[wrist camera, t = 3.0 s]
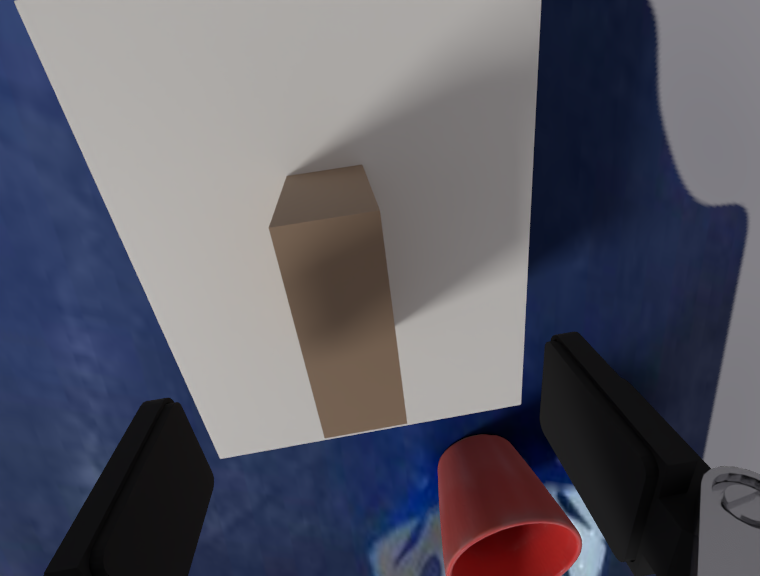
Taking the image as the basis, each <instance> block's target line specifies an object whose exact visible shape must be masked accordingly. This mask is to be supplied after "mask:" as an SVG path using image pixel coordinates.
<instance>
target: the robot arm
mask: <svg viewBox="0 0 760 576" xmlns="http://www.w3.org/2000/svg"><path fill="white" fill-rule="evenodd" d="M540 424H541V428H542V431H543V433H544V435H545V436H546V438H547V440H548V441H549V443H550V445H551V447H552V448H553V450H554V452H555V453H556V455H557V457H558V459H559V460H560V462H561V464H562V466H563V467H564V469H565V471H566V472H567V474H568V476H569V478H570V479H571V481H572V483H573V485H574V486H575V488H576V490H577V491H578V493H579V495H580V497H581V498H582V500H583V502H584V503H585V505H586V507H587V509H588V510H589V512H590V514H591V516H592V517H593V519H594V521H595V522H596V524H597V526H598V528H599V529H600V531H601V533H602V535H603V536H604V538H605V540H606V541H607V543H608V545H609V547H610V548H611V550H612V552H613V553H614V555H615V556H616V558H617V559H618V560H619V561H621V562H625V561H626V562H627V564H628V566H629V568H630V569H631V571H632V573H633V574H634V576H645V575H651V574H656V576H760V474H757V473H755V472H752V471H750V470H747V469H742V468H738V467H727V466H725V467H724V466H720V467H717V468H713V469H711V468H710V467H709V466H708V465H707V464H706V463H705V462H704V461H703V460H702V459H701V458H700V457H699V456H698V454H697V453H696V452H695V451H694V450H693V449H692V448H691V447H690V446H689V445H688V444H687V443H686V442H685V441H684V440H683V439H682V438H681V437H680V436H679V434H678V433H677V432H676V431H675V430H674V429H673V428H672V427H671V426H670V425H669V424H668V423H667V422H666V421H665V420H664V419H663V418H662V417H661V416H660V414H659V413H658V412H657V411H656V410H655V409H654V408H653V407H652V406H651V405H650V404H649V403H648V402H647V401H646V400H645V399H644V398H643V397H642V395H641V394H640V393H639V392H638V391H637V390H636V389H635V388H634V387H633V386H632V385H631V384H630V383H629V382H628V381H626V380H625V379H622V378H621V377H620V376H619V375H618V374H617V373H616V372H615V371H614V370H613V369H612V368H611V367H610V366H609V365H608V364H607V363H606V361H605V360H604V359H603V358H602V357H601V356H600V355H599V354H598V353H597V352H596V351H595V350H594V349H593V348H592V347H591V345H590V344H589V343H588V342H587V341H586V340H585V339H584V338H583V337H582V336H581V335H580V334H579V333H578V332H570V333H564V334H558V335H554V336H552V338H551V341H550V342H547V343H546V344H545V353H544V366H543V380H542V393H541V407H540ZM213 487H214V477H213V473H212V471H211V469H210V466H209V464H208V462H207V460H206V458H205V456H204V453H203V451H202V449H201V447H200V445H199V443H198V440H197V438H196V436H195V434H194V432H193V430H192V428H191V425H190V423H189V421H188V419H187V417H186V415H185V412H184V410H183V408H182V406H181V404H180V403H178V402H175V403H174V401H173V400H172V399H171V398H163V399H157V400H151V401H146V402H144V403H143V404H142V405H141V406H140V408H139V410H138V411H137V413H136V415H135V417H134V418H133V420H132V422H131V423H130V425H129V427H128V429H127V430H126V432H125V434H124V436H123V437H122V439H121V441H120V442H119V444H118V446H117V448H116V449H115V451H114V453H113V455H112V456H111V458H110V460H109V462H108V463H107V465H106V467H105V468H104V470H103V472H102V474H101V475H100V477H99V479H98V481H97V482H96V484H95V486H94V487H93V489H92V491H91V493H90V494H89V496H88V498H87V500H86V501H85V503H84V505H83V506H82V508H81V510H80V512H79V513H78V515H77V517H76V519H75V520H74V522H73V524H72V525H71V527H70V529H69V531H68V532H67V534H66V536H65V538H64V539H63V541H62V543H61V545H60V546H59V548H58V550H57V551H56V553H55V555H54V557H53V558H52V560H51V562H50V564H49V565H48V567H47V569H46V570H45V572H44V576H188V574H189V570H190V567H191V563H192V560H193V556H194V553H195V549H196V546H197V543H198V539H199V536H200V532H201V529H202V525H203V522H204V518H205V515H206V512H207V508H208V505H209V501H210V498H211V494H212V491H213Z"/></svg>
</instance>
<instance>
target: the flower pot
mask: <svg viewBox="0 0 760 576" xmlns="http://www.w3.org/2000/svg"><path fill="white" fill-rule="evenodd" d="M438 486H439V508H440V520H441V533H442V545H443V556H444V565H445V573H446V576H561V575H563V574H564V573H565V572H566V571H567V570H568V569H569V568H570V567H571V566H572V565H573V564H574V562H575V561H576V560H577V558H578V557H579V555H580V552H581V548H582V539H581V536H580V534H579V532H578V531H577V529H576V528H575V526H574V525H573V523H572V522H571V521H570V519H569V518H568V517H567V515H566V514H565V513H564V511H563V510H562V509H561V507H560V506H559V505H558V504H557V502H556V501H555V500H554V498H553V497H552V496H551V494H550V493H549V492H548V490H547V489H546V488H545V486H544V485H543V484H542V482H541V481H540V480H539V478H538V477H537V476H536V475H535V473H534V472H533V471H532V469H531V468H530V467H529V466H528V464H527V463H526V462H525V461H524V459H523V458H522V457H521V456H520V454H519V453H518V452H517V451H516V449H515V448H514V447H513V446H512V444H511V443H510V442H509V441H508V440H506V439H504V438H502V437H500V436H497V435H487V434H480V435H474V436H470V437H467V438H464V439H462V440H460V441H458V442H456V443H454V444H453V445H452V446H450V447H449V448H448V449H447V450H446V451H445V452H444V453H443V455H442V456H441V458H440V461H439V464H438Z"/></svg>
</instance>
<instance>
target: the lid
mask: <svg viewBox="0 0 760 576" xmlns="http://www.w3.org/2000/svg"><path fill="white" fill-rule="evenodd" d="M14 3H15V5H16V7H17V9H18V11H19V14H20V16H21V18H22V20H23V23H24V25H25V27H26V29H27V31H28V34H29V36H30V38H31V40H32V43H33V45H34V47H35V49H36V51H37V54H38V56H39V58H40V60H41V62H42V65H43V67H44V69H45V71H46V74H47V76H48V78H49V80H50V82H51V85H52V87H53V89H54V91H55V94H56V96H57V98H58V100H59V102H60V105H61V107H62V109H63V111H64V113H65V116H66V118H67V120H68V122H69V125H70V127H71V129H72V131H73V133H74V136H75V138H76V140H77V142H78V145H79V147H80V149H81V151H82V153H83V156H84V158H85V160H86V162H87V165H88V167H89V169H90V171H91V173H92V176H93V178H94V180H95V182H96V184H97V187H98V189H99V191H100V193H101V196H102V198H103V200H104V202H105V204H106V207H107V209H108V211H109V213H110V216H111V218H112V220H113V222H114V224H115V227H116V229H117V231H118V233H119V235H120V238H121V240H122V242H123V244H124V247H125V249H126V251H127V253H128V255H129V258H130V260H131V262H132V264H133V267H134V269H135V271H136V273H137V275H138V278H139V280H140V282H141V284H142V286H143V289H144V291H145V293H146V295H147V298H148V300H149V302H150V304H151V306H152V309H153V311H154V313H155V315H156V318H157V320H158V322H159V324H160V326H161V329H162V331H163V333H164V335H165V338H166V340H167V342H168V344H169V346H170V349H171V351H172V353H173V355H174V357H175V360H176V362H177V364H178V366H179V369H180V371H181V373H182V375H183V377H184V380H185V382H186V384H187V386H188V389H189V391H190V393H191V395H192V397H193V400H194V402H195V404H196V406H197V408H198V411H199V413H200V415H201V417H202V420H203V422H204V424H205V426H206V428H207V431H208V433H209V435H210V437H211V440H212V442H213V444H214V446H215V448H216V451H217V453H218V455H219V457H220V459H222V458H228V457H234V456H239V455H245V454H250V453H256V452H261V451H267V450H272V449H278V448H283V447H289V446H294V445H300V444H305V443H311V442H317V441H322V440H328V439H333V438H339V437H344V436H350V435H355V434H361V433H366V432H372V431H377V430H383V429H388V428H394V427H399V426H405V425H411V424H416V423H422V422H427V421H433V420H438V419H444V418H449V417H455V416H460V415H466V414H471V413H477V412H482V411H488V410H494V409H499V408H505V407H510V406H516V405H521V392H522V372H523V353H524V333H525V313H526V293H527V274H528V254H529V234H530V215H531V195H532V175H533V155H534V136H535V116H536V96H537V77H538V57H539V37H540V17H541V0H17V1H14Z"/></svg>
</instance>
